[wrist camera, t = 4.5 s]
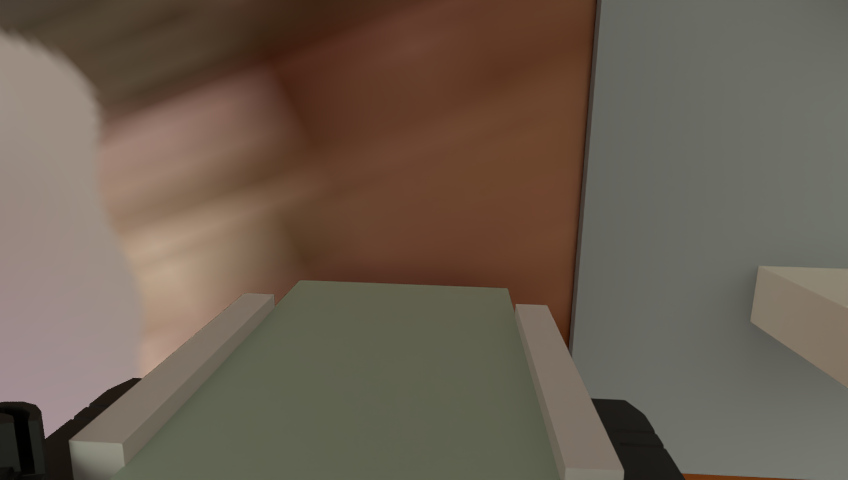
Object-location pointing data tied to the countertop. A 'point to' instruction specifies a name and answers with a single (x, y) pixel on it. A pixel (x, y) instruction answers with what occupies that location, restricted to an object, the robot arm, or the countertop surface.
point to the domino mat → (713, 225)
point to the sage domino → (364, 393)
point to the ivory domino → (806, 313)
